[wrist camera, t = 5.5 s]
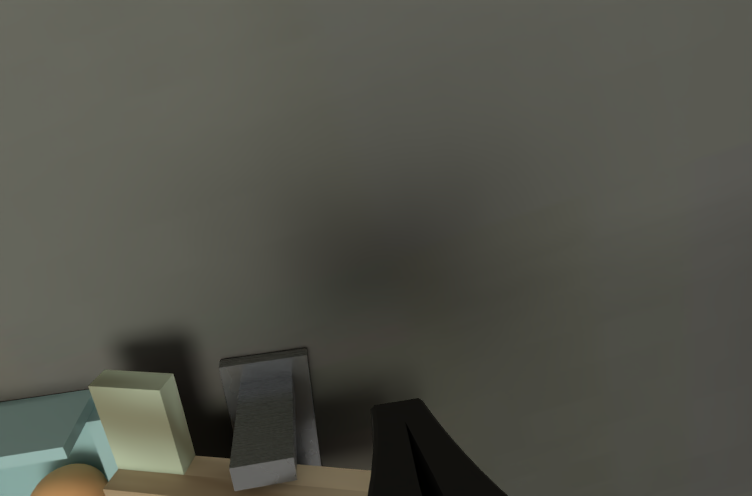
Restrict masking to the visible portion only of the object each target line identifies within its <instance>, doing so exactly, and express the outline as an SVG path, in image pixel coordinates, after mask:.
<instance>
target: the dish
mask: <svg viewBox="0 0 752 496" xmlns="http://www.w3.org/2000/svg"><path fill="white" fill-rule="evenodd" d="M76 463H81V464H87V465H91V466H93V467H95V468H97V469H98V470H100V471H101V472H102V473H103V474H104V476H105V477H106V479H107V481H108V482H109V480H110V479H111V478H112V476H113V475H114V474H115V472H116V471H117V470H118V467H117V464H116V461H115V459H114V456H113V453H112V450H111V448H110V445H109V442H108V439H107V437H106V434H105V431H104V428H103V426H102V423H101V420H100V417H99V415H98V412H97V409H96V406H95V404H94V401H93V398H92V395H91V393H90V390H82V391H75V392H68V393H61V394H54V395H47V396H40V397H33V398H26V399H19V400H12V401H6V402H0V496H31V494H32V492H33V490H34V489H35V487H36V486H37V484H38V483H39V482H40V481H41V480H42V479H43V478H44V477H45V476H46V475H48V474H49V473H50V472H52V471H54V470H56V469H57V468H60V467H62V466H65V465H69V464H76Z"/></svg>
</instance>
